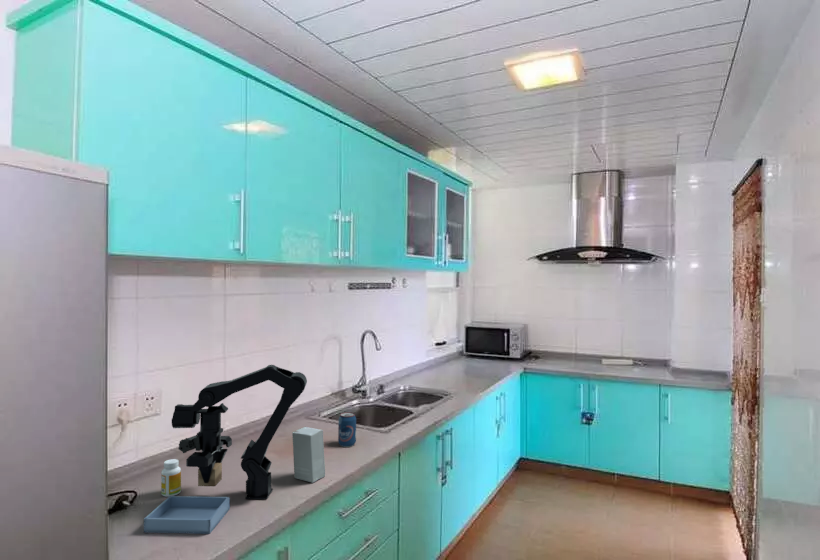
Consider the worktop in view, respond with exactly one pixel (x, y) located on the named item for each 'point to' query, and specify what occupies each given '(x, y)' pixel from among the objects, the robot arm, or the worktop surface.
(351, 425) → the soda can
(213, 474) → the cube
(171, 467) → the supplement bottle
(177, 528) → the tote
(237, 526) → the worktop surface
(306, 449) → the skincare box
